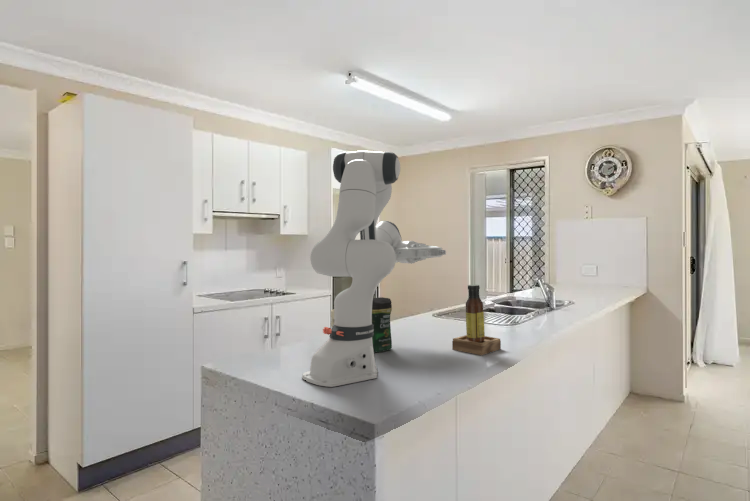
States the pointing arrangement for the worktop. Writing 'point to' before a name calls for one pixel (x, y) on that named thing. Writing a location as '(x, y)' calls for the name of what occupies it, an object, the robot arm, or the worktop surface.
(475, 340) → the sauce bottle
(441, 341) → the worktop surface
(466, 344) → the tray
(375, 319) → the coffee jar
